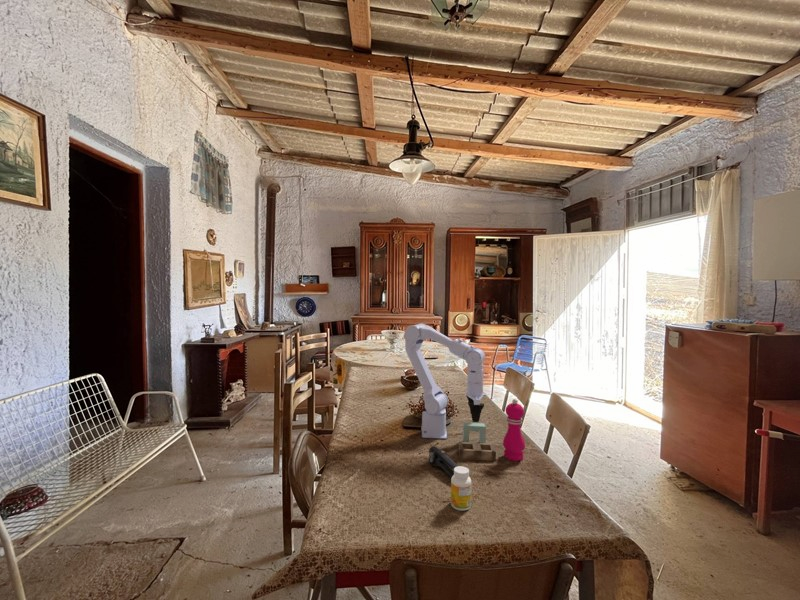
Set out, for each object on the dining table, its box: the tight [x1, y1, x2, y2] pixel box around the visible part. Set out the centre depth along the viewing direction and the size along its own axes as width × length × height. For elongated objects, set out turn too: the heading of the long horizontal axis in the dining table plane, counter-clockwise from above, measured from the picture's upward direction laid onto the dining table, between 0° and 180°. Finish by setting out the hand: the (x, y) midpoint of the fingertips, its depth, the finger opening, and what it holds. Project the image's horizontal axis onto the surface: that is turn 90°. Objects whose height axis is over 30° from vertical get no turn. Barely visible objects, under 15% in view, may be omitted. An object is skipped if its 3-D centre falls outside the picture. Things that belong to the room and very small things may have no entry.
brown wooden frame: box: [458, 441, 497, 462], centre depth 129 cm, size 12×6×3 cm, turn 84°
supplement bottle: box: [450, 465, 472, 512], centre depth 100 cm, size 5×5×10 cm
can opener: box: [428, 445, 459, 478], centre depth 118 cm, size 18×7×6 cm, turn 24°
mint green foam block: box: [462, 422, 487, 443], centre depth 139 cm, size 8×3×7 cm, turn 84°
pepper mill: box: [502, 398, 526, 462], centre depth 128 cm, size 7×7×20 cm
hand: (474, 418), depth 139 cm, fingers open, 7 cm apart
